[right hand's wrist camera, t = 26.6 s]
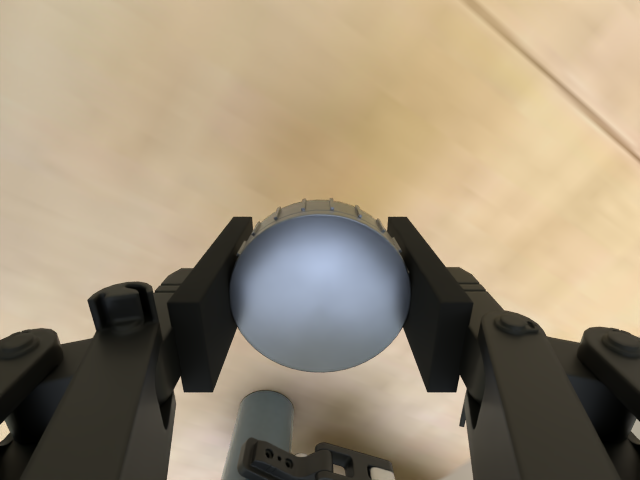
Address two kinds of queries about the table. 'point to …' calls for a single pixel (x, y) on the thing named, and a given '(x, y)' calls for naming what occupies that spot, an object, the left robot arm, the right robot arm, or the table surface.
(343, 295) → the grey domed jar lid
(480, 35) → the table surface
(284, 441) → the blue-grey cylinder
